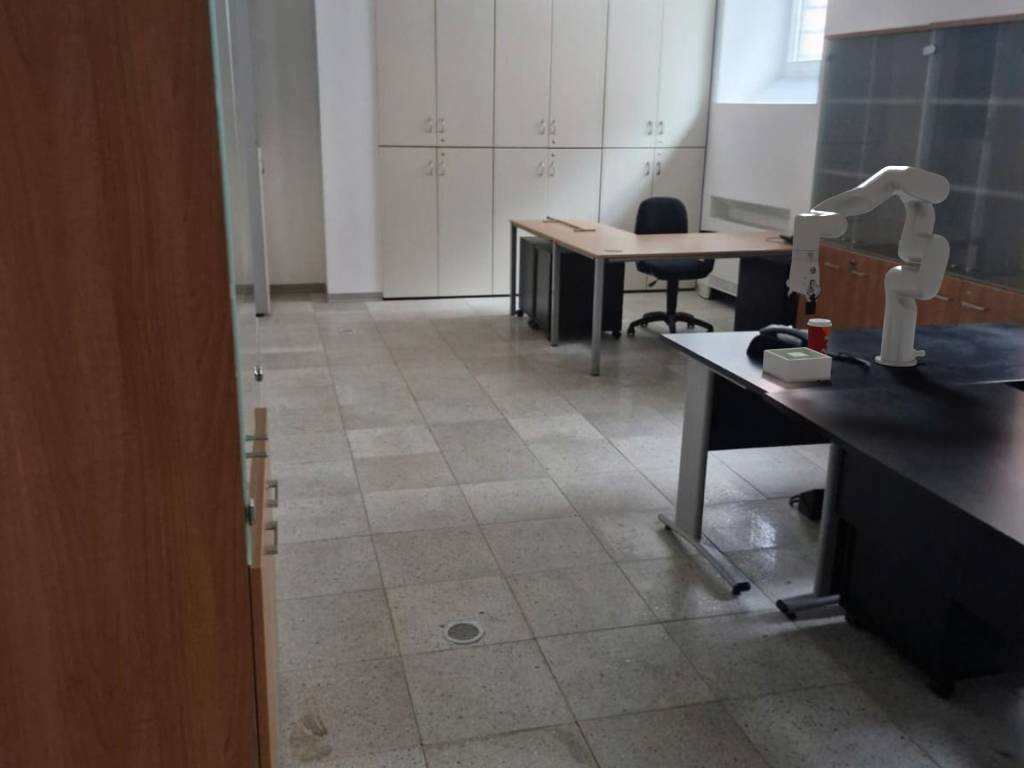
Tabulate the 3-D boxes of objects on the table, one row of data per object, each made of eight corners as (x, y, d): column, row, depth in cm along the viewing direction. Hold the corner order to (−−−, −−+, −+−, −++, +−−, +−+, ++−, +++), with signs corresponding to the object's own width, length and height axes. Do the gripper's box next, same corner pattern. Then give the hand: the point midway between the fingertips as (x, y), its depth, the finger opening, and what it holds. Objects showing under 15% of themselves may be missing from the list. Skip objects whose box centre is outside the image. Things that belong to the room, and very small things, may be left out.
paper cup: (830, 365, 292) (833, 323, 288) (805, 364, 293) (808, 322, 290) (827, 359, 299) (830, 318, 295) (803, 359, 301) (806, 317, 297)
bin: (803, 368, 288) (805, 347, 286) (830, 379, 274) (831, 357, 272) (762, 371, 285) (764, 350, 283) (786, 383, 271) (788, 360, 269)
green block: (798, 370, 282) (800, 352, 281) (807, 374, 277) (809, 355, 276) (784, 371, 281) (785, 353, 279) (793, 375, 276) (794, 356, 275)
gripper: (832, 258, 263) (828, 316, 267) (800, 251, 279) (796, 306, 283) (809, 259, 261) (805, 317, 265) (778, 252, 277) (775, 307, 281)
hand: (801, 311), depth 274 cm, fingers open, 9 cm apart
